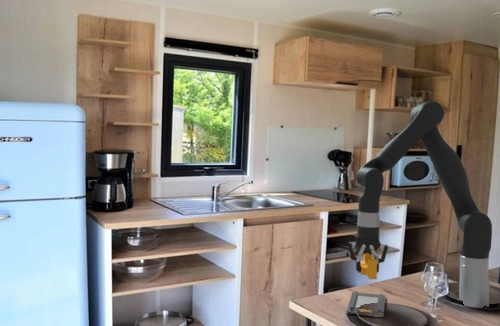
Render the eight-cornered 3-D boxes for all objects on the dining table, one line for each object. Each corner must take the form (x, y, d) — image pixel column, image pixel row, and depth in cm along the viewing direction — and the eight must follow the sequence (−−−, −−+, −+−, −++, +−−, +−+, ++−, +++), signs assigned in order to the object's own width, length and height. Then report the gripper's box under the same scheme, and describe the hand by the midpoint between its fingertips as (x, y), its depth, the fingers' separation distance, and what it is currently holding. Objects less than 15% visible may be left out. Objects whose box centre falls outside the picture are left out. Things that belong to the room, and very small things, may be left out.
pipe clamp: (358, 269, 171) (358, 252, 171) (370, 270, 170) (370, 252, 170) (363, 279, 159) (363, 260, 159) (376, 279, 158) (377, 260, 158)
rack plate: (385, 297, 173) (385, 292, 173) (384, 318, 152) (384, 312, 152) (352, 294, 177) (352, 289, 177) (346, 314, 156) (346, 308, 156)
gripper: (390, 224, 165) (388, 272, 166) (348, 221, 170) (347, 268, 170) (389, 227, 158) (388, 277, 159) (346, 224, 162) (345, 273, 163)
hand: (367, 272), depth 164 cm, fingers closed on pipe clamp, 5 cm apart
